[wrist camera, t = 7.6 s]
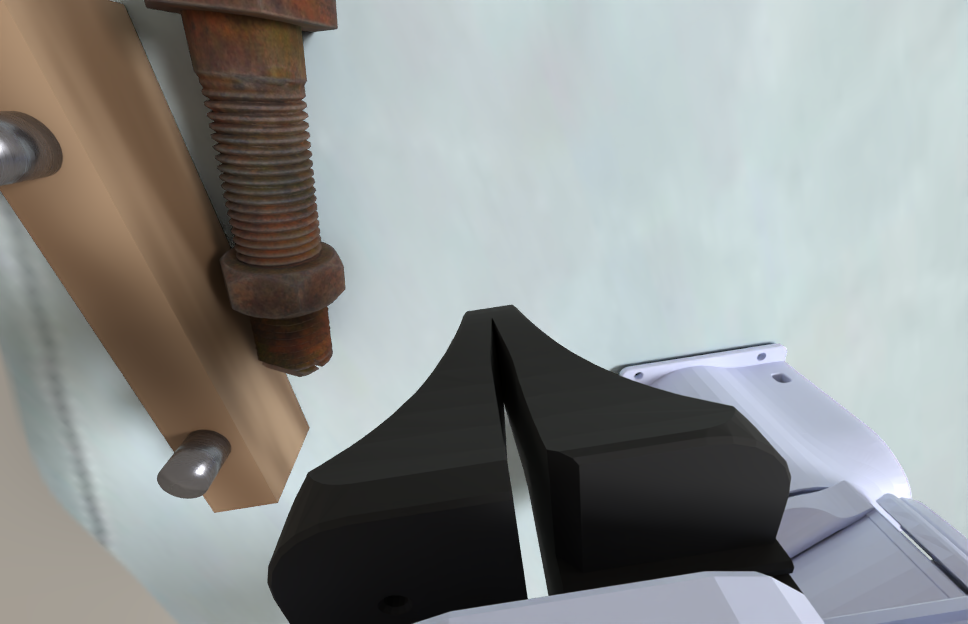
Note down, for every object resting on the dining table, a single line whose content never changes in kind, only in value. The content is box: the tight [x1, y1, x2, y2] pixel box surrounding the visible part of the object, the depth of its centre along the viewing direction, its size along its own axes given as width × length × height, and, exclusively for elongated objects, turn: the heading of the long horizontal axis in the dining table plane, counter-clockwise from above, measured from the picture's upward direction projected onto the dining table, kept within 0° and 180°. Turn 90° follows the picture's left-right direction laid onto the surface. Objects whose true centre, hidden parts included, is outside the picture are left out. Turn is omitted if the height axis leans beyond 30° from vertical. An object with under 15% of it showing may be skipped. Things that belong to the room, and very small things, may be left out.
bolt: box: [144, 0, 345, 377], centre depth 16 cm, size 6×5×15 cm
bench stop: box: [0, 0, 309, 513], centre depth 16 cm, size 3×20×7 cm, turn 8°
